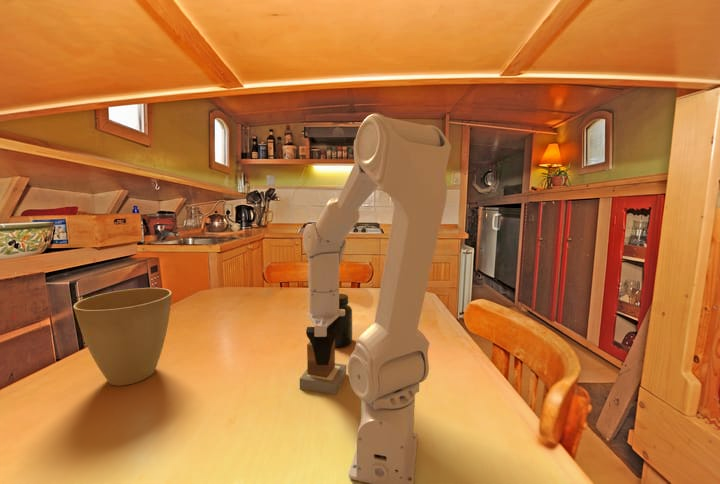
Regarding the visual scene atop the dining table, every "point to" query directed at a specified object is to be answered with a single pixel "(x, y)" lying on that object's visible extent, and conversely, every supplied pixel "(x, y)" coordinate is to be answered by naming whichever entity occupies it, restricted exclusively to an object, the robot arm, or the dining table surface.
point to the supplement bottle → (344, 324)
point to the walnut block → (319, 369)
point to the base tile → (324, 380)
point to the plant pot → (125, 331)
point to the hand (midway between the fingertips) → (323, 356)
